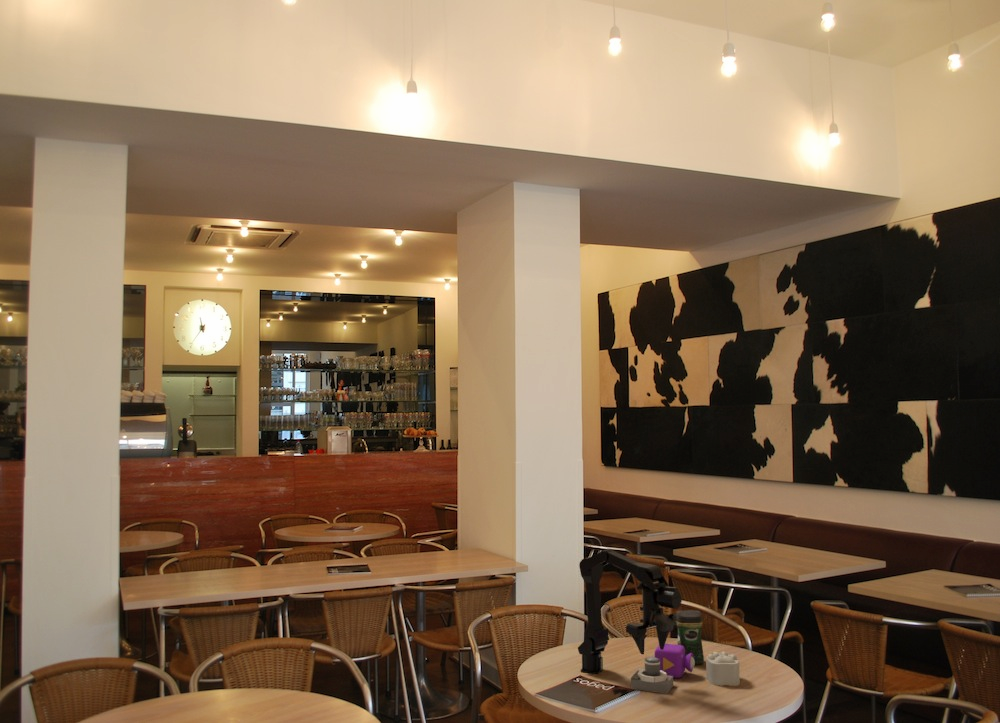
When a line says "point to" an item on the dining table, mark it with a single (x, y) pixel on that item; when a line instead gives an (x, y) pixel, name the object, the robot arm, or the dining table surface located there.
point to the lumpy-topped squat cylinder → (722, 669)
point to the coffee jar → (690, 633)
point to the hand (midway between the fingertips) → (652, 651)
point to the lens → (652, 666)
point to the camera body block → (652, 682)
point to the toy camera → (674, 660)
